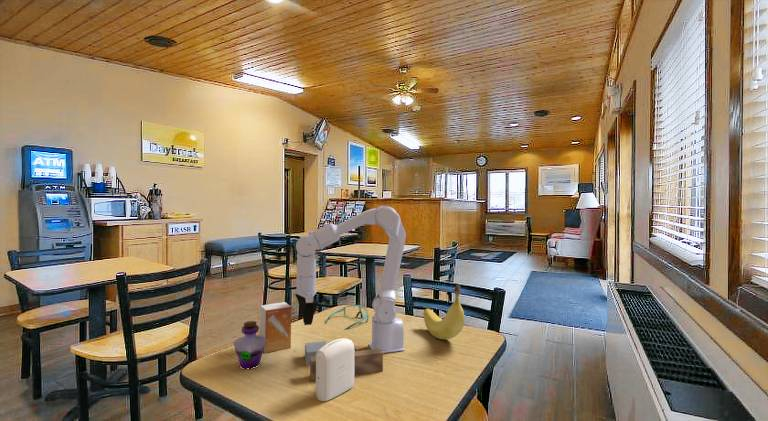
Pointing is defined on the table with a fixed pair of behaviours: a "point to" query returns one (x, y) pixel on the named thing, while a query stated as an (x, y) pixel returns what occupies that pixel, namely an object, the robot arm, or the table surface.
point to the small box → (276, 326)
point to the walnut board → (358, 362)
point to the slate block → (312, 350)
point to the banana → (446, 320)
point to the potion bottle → (250, 346)
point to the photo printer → (334, 369)
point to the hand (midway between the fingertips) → (306, 320)
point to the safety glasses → (356, 315)
